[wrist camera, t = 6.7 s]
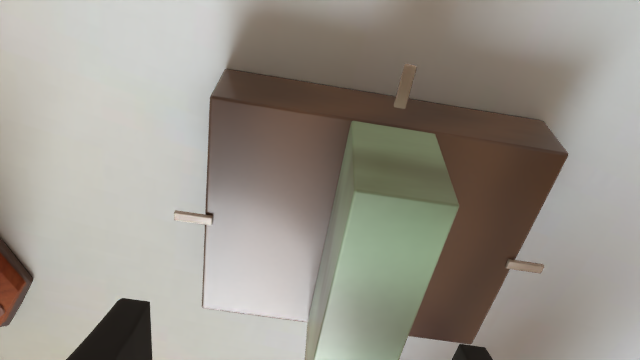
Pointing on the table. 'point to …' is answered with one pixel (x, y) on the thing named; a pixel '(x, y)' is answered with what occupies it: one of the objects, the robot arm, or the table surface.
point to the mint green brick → (380, 243)
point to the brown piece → (321, 184)
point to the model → (11, 284)
